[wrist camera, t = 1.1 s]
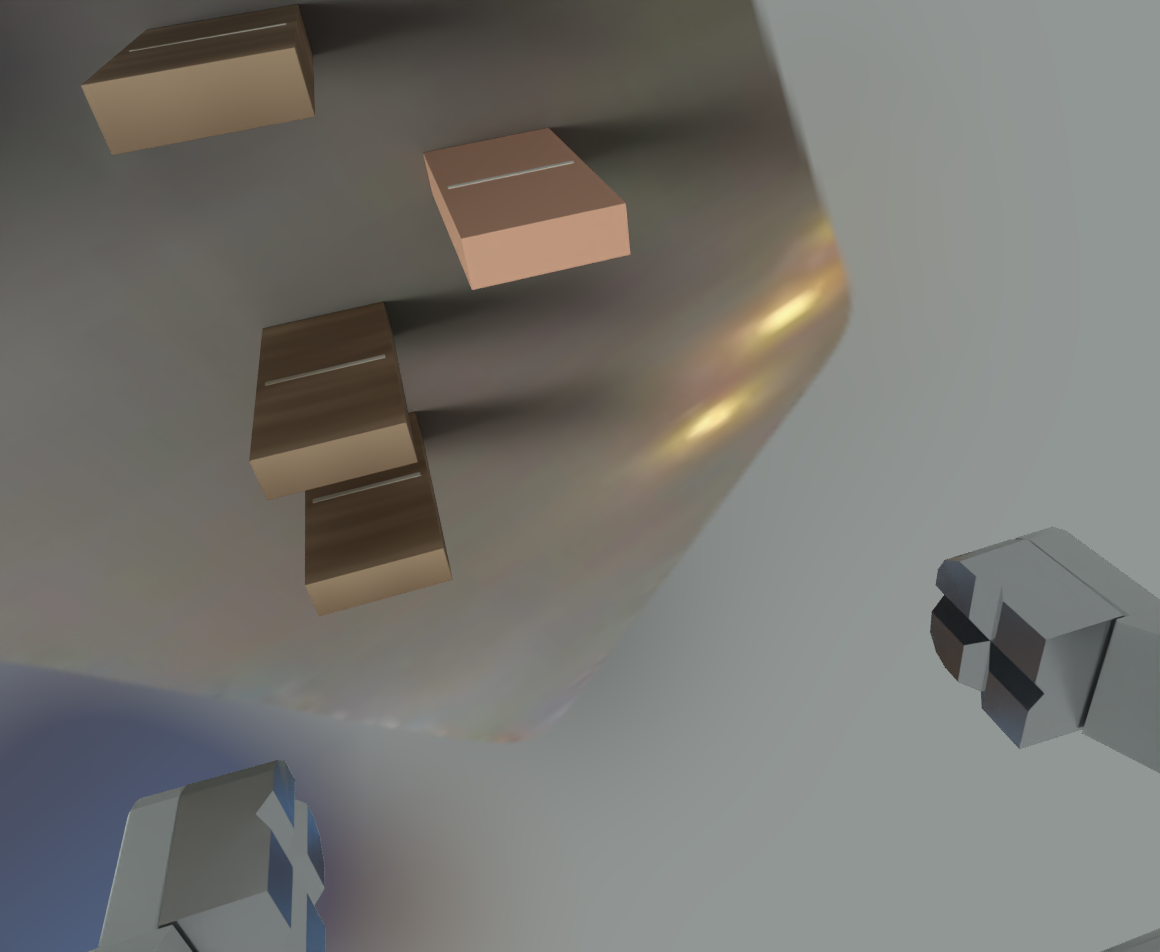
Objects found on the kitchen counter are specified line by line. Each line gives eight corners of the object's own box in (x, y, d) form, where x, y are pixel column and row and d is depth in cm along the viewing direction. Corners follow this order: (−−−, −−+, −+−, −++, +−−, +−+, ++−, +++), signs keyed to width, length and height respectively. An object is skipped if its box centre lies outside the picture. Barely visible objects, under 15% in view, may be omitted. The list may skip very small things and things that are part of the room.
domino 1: (145, 29, 27) (80, 84, 19) (297, 3, 28) (294, 46, 20) (166, 82, 28) (112, 156, 20) (313, 56, 29) (315, 117, 21)
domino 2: (262, 328, 34) (249, 460, 26) (383, 301, 35) (405, 421, 27) (276, 363, 35) (267, 500, 27) (393, 336, 36) (418, 462, 28)
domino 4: (423, 152, 32) (460, 237, 24) (548, 127, 32) (625, 202, 25) (432, 194, 33) (472, 290, 25) (554, 169, 33) (630, 255, 26)
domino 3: (305, 437, 37) (304, 585, 29) (414, 411, 38) (442, 547, 30) (316, 467, 38) (319, 617, 30) (423, 440, 39) (452, 580, 31)
